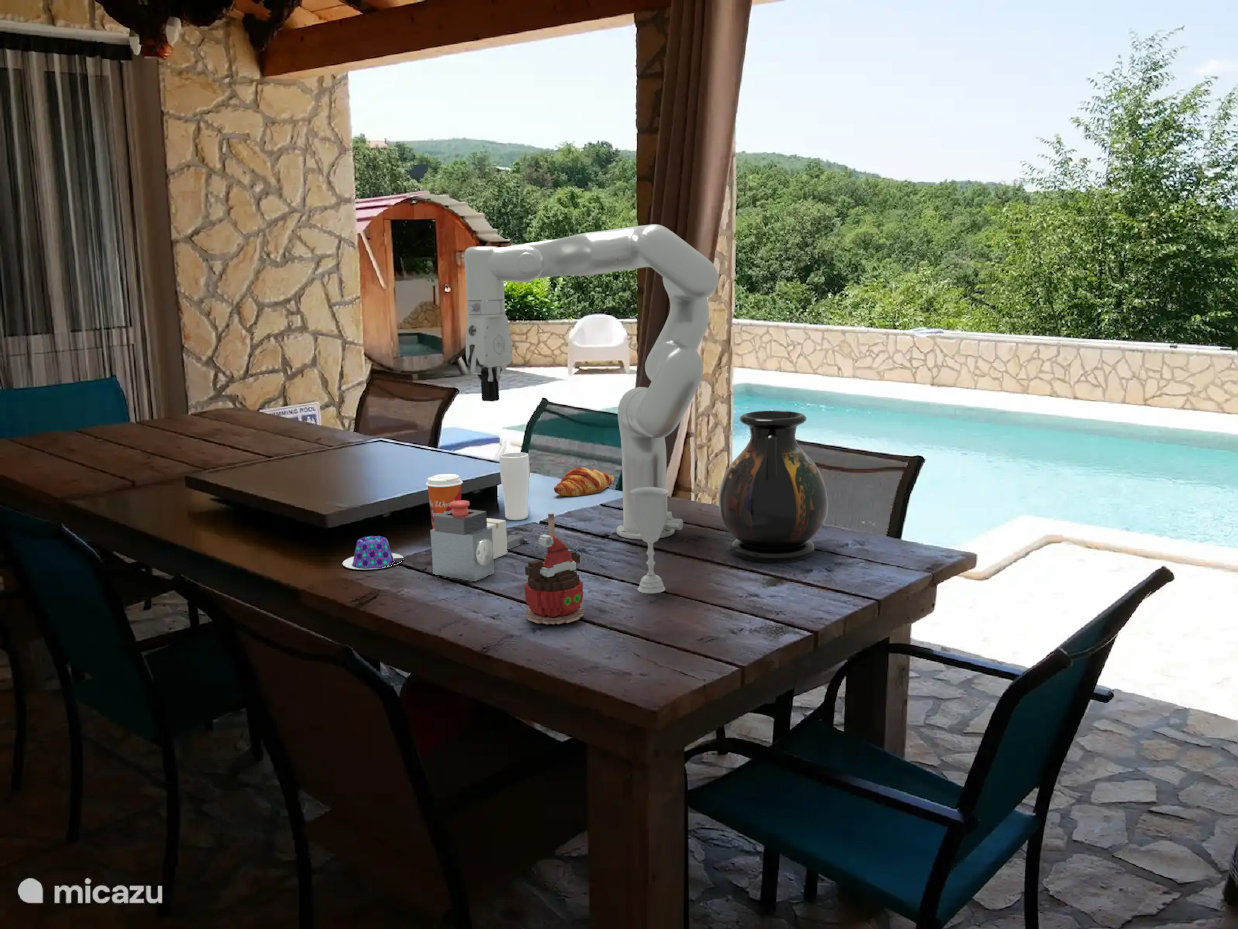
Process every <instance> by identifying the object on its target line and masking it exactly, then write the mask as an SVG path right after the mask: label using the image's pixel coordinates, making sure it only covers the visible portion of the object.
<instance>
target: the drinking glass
mask: <svg viewBox="0 0 1238 929" xmlns="http://www.w3.org/2000/svg"><path fill="white" fill-rule="evenodd" d="M499 473H500V475H499V476H500V481H501V482H500V483H501V488H502V489H501V490H502V496H503V503H504V516H505V518H506V520H509V521H522V520H526V519H527V518H528V517H529V492H530V490H529V489H530V457H529V453H526V452H519V451H518V452H505V453H501V454H500V455H499Z"/></svg>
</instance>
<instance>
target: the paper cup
mask: <svg viewBox="0 0 1238 929" xmlns="http://www.w3.org/2000/svg"><path fill="white" fill-rule="evenodd" d="M426 480H427V481H426V483H425V485H426V486H427V493H428V501H429V509H430V517H431V518H430V519H431V526H432V529H435V524H434V516H435V515H438V514H441V513H444V512H447V511H450V510H452V507H450V502H453V501H458V500H461V499H462V484H463V483H464V482H463V480H462V479H461V478H460V475H458V474H455V473H454V474H452V473H443V474H435V475H432V476H429V477H427V479H426Z"/></svg>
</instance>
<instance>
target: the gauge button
mask: <svg viewBox="0 0 1238 929" xmlns="http://www.w3.org/2000/svg"><path fill="white" fill-rule="evenodd" d="M469 506H470V501H469V500H464V499H463V500H458V501H453V502H450V507H452V516H458V517H463V516H466V515H468V509H469Z"/></svg>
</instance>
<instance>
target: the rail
mask: <svg viewBox="0 0 1238 929" xmlns="http://www.w3.org/2000/svg"><path fill="white" fill-rule="evenodd" d="M529 542H530V543H531V541H530V538H529V539H528V538H525V536H524V535H519V534H510V535H508V536H507V549H509V548H512V547H514V546H516V545H518V544H521V545H523V544H522V543H529ZM530 543H529V544H530ZM514 548H515V547H514ZM512 549H513V548H512Z"/></svg>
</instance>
